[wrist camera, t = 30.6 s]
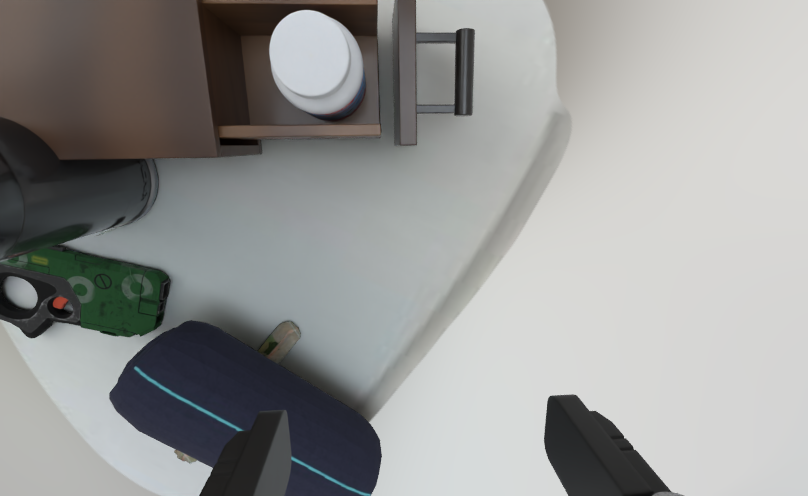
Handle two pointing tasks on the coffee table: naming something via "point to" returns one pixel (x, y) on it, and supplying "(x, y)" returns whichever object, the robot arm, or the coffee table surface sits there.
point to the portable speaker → (244, 409)
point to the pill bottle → (317, 65)
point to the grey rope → (269, 355)
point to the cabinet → (112, 79)
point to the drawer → (357, 10)
